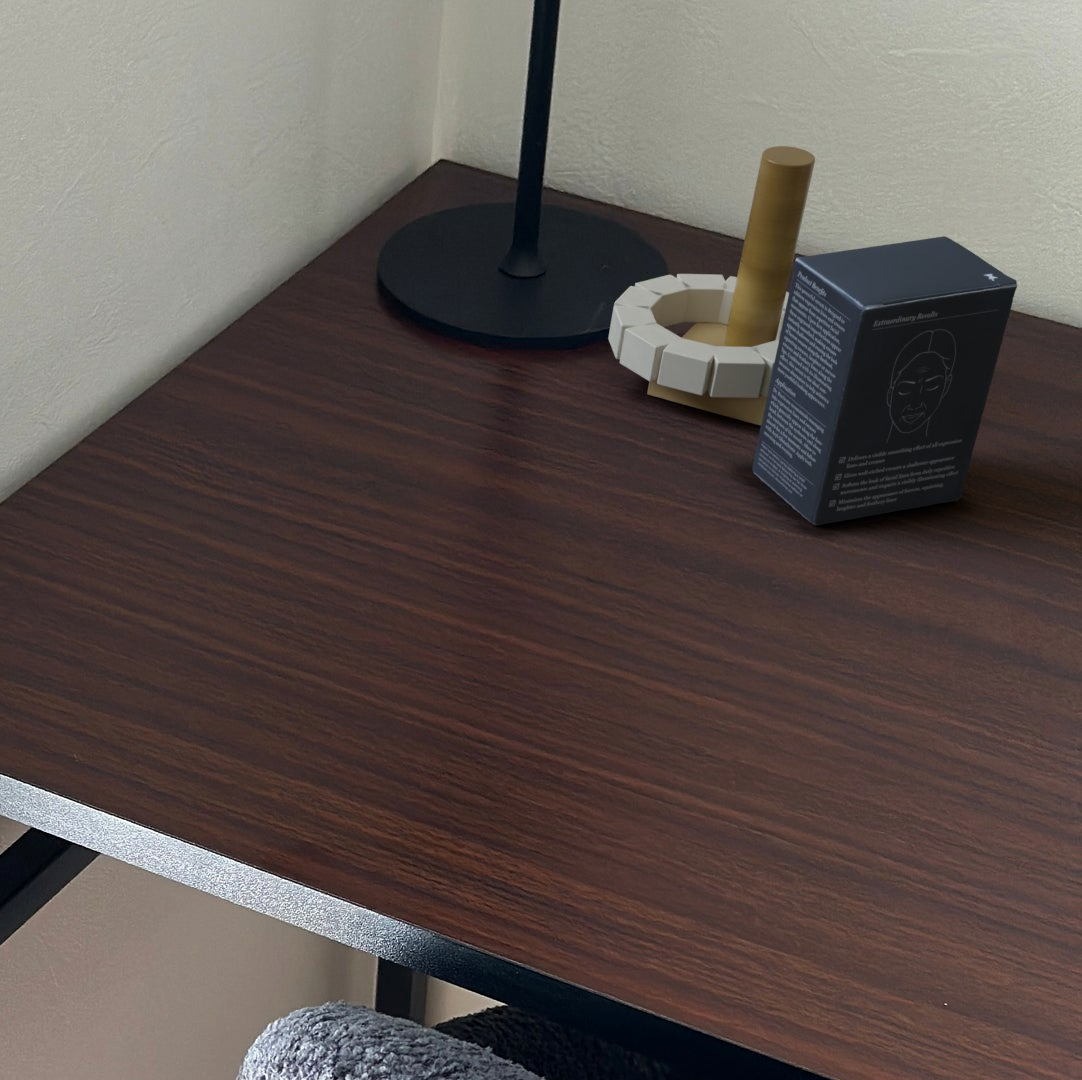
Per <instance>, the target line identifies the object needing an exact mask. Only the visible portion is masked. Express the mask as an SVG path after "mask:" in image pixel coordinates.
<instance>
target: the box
mask: <svg viewBox="0 0 1082 1080" xmlns="http://www.w3.org/2000/svg"><path fill="white" fill-rule="evenodd" d="M793 265H794V266H793V272H792V276H791V277H792V278H791V283H790V286H789V291H788V292H789V296H788V301H787V305H786V310H785V315H784V319H783V325H782V329H781V333H780V338H779V344H778V348H777V353H776V357H775V362H774V367H773V372H772V377H771V381H770V386H769V391H768V396H767V400H766V404H765V410H764V414H763V419H762V424H761V426H760V429H759V433H758V438H757V443H756V448H755V453H754V458H753V462H752V467H751V470H752V472H753V474H754V475H755V476H756V477H758V478H759V479H760V481H761V482H762V483H764V484H766V486H767V487H769V488H770V489H771V490H772V491H773V492H774V493H776V495H778V496H779V497H780V498H781V499H783V500H784V501H785V502H786V503H787V504H788V505H789V506H791V507H792V509H793V510H795V511H796V512H797V513H798V514H800V515H801V517H802V518H803V519H805V520H807V522H809V523H811V524H812V525H813V526H823V525H827V524H832V523H838V522H843V521H850V520H854V519H860V518H861V519H862V518H864V517H865V518H866V517H872V516H877V515H880V514H881V515H883V514H888V513H893V512H898V511H904V510H910V509H916V508H921V507H927V506H933V505H937V504H938V505H939V504H944V503H945V504H946V503H950V502H957V501H959V500H960V499H961V497H962V495H963V489H964V485H965V483H966V482H965V481H966V478H967V474H968V471H969V468H970V464H971V461H972V460H971V459H972V456H973V452H974V451H973V450H974V448H975V445H976V441H977V438H978V434H979V429H980V426H981V423H982V418H983V415H984V412H985V407H986V404H987V399H988V395H989V392H990V387H991V385H992V381H993V378H994V373H995V370H996V367H997V362H998V359H999V356H1000V355H999V354H1000V350H1001V347H1002V344H1003V341H1004V336H1005V332H1006V328H1007V324H1008V320H1009V317H1010V313H1011V309H1012V306H1013V302H1014V297H1015V294H1016V291H1017V288H1018V284H1017V283H1018V282H1017V279H1015V278H1013V277H1011V276H1009V275H1007V274H1005V273H1004V272H1002V271H1001V270H999V268H996V267H995V266H993V265H992V264H990V263H989V262H987V261H986V260H985V259H983V258H982V257H981V256H979V255H977V254H975V253H974V252H973V251H971V250H970V249H968V248H966V247H964V246H963V245H962V244H960V243H958V242H956V241H954V240H953V239H952V238H949V237H947V236H945V235H943V236H937V237H929V238H922V239H916V240H909V241H902V242H895V243H889V244H882V245H881V244H880V245H875V246H869V247H860V248H853V249H847V250H840V251H834V252H827V253H826V252H825V253H820V254H813V255H805V256H799V257H796V258H795V261H794V264H793Z"/></svg>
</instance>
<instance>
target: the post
mask: <svg viewBox="0 0 1082 1080" xmlns="http://www.w3.org/2000/svg"><path fill="white" fill-rule="evenodd" d="M815 163H816V157H815V155H814V154H813V153H811V152H810V151H808V150H805V149H803V148H800V147H795V146H787V145H786V146H785V145H779V146H770V147H767V148H765V149H764V150H763V151H762V153H761V158H760V162H759V168H758V173H757V177H756V182H755V185H754V186H755V187H754V192H753V197H752V202H751V207H750V212H749V216H748V221H747V226H746V231H745V236H744V241H743V247H742V250H741V257H740V259H739V260H740V261H739V266H738V270H737V274H736V275H737V276H736V277H737V280H736V285H735V290H734V295H733V299H732V304H731V309H730V314H729V319H728V324H727V325H725V324H721V323H698V322H695V323H694V325H692V326H691V327H690V328H689V330H688V331H686V332H685V333H684V334H683V335H682V336H681V338H684V339H688V340H692V341H696V342H700V343H704V344H708V345H712V346H728V347H753V346H757V345H761V344H764V343H768V342H772V341H775V340H776V337H777V333H778V328H779V323H780V319H781V314H782V310H783V305H784V301H785V296H786V291H787V292H788V286H789V283H790V282H789V281H790V277H791V273H792V269H793V265H794V259H795V254H796V250H797V245H798V241H799V240H798V239H799V236H800V231H801V227H802V222H803V217H804V213H805V208H806V204H807V201H808V195H809V191H810V186H811V182H812V176H813V172H814V168H815ZM657 381H658V380H655V381H651V382H649V381H648V387H647V393H646V394H647V395H648V396H651V397H654V398H658V399H662V400H665V401H670V402H674V403H677V404H680V405H685V406H688V407H692V408H696V409H699V410H703V411H706V412H710V413H713V414H716V415H721V416H723V417H724V416H725V417H728V418H731V419H735V420H739V421H742V422H745V423H750V424H753V425H757V426H760V427H761V424H762V419H763V414H764V410H765V404H766V400H767V397H764V396H763V395H761V394H759V397H758V398H723V397H710V394H709V392H708V390H707V391H706V392H705V393H704V395H703V396H700V395H696V394H693V393H689V392H685V391H681V390H677V389H673V388H669V387H665V386H661V385H658V384H657Z"/></svg>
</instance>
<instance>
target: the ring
mask: <svg viewBox="0 0 1082 1080" xmlns="http://www.w3.org/2000/svg"><path fill="white" fill-rule="evenodd" d="M736 280H737V276H733V275H731V276H729V277H728V278H727V279H725V277H724V275H723V274H714V273H713V274H712V273H710V274H708V273H707V274H705V273H677V274H676V277H675V276H674V275H672V274H666V275H662V276H658V277H654V278H650V279H647V280H643V281H639V282H635V284H634V285H633V286H632V285H630V286H629V287H628V288H627V289H625V291H624V292H623V293H622V294H621V295H620V296H619V297H618V298H617V299H616V300H615V302H614V304H613V308H612V313H611V320H610V326H609V333H608V337H607V339H608V342H609V344H610V347H611V350H612V353H613V355H614V357H615V360H619V364H620V365H622V366H623V367H625V368H626V369H628V370H629V371H631V372H633V373H634V374H636V375H637V376H639V377H641V378H643V379H645V380H646V381H648V383H649V382H651V381H655V380H658V381H657V384H658V385H661V386H665V387H669V388H673V389H677V390H681V391H685V392H689V393H693V394H696V395H700V396H703V395H704V393H705V392H706V391H707V390H708V392H709V394H710V397H723V398H758V397H759V394H761V395H763V396H764V397H767V396H768V391H769V386H770V381H771V377H772V372H773V367H774V362H775V357H776V353H777V348H778V344H779V338H780V333H781V329H782V325H783V319H784V315H785V310H786V305H787V301H788V296H789V291H788V290H787V291H786V296H785V301H784V305H783V310H782V314H781V319H780V323H779V328H778V333H777V337H776V340H775V341H772V342H768V343H764V344H761V345H757V346H753V347H728V346H712V345H708V344H704V343H700V342H696V341H692V340H688V339H684V338H682V336H679V335H677V334H676V333H674V332H673V331H671V330H669V329H667V327H671V326H675V325H678V324H682V323H697V322H698V323H721V324H725V325H727V324H728V319H729V314H730V309H731V304H732V299H733V295H734V290H735V285H736Z"/></svg>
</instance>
